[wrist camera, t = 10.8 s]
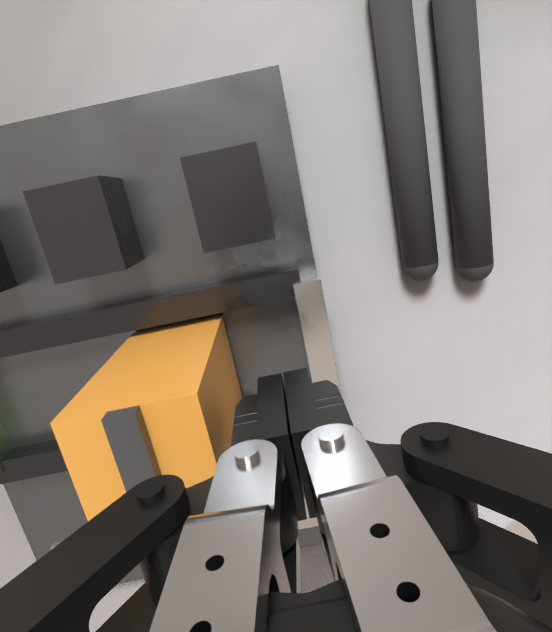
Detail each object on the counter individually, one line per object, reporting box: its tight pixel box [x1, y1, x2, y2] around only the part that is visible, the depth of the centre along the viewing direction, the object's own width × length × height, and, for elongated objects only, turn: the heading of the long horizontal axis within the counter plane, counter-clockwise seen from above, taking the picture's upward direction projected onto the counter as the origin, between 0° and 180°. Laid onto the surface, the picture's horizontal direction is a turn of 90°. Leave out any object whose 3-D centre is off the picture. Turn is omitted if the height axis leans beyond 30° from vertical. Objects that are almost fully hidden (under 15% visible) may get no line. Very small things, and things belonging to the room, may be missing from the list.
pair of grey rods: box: [369, 0, 494, 281], centre depth 17 cm, size 4×12×1 cm, turn 12°
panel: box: [0, 65, 341, 583], centre depth 17 cm, size 15×20×4 cm
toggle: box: [50, 315, 242, 521], centre depth 14 cm, size 4×4×7 cm
